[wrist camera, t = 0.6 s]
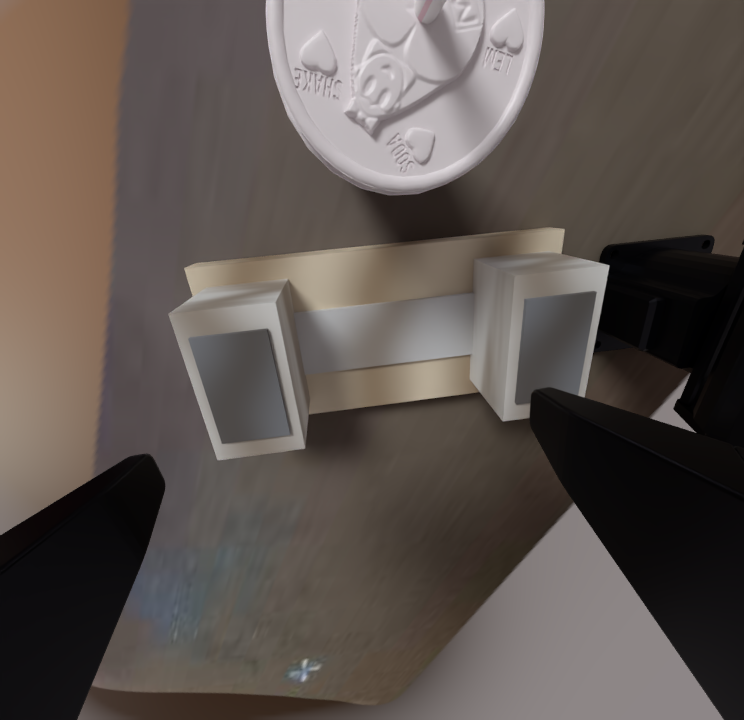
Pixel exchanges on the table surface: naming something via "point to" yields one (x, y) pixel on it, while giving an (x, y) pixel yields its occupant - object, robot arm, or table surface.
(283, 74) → the smoothie
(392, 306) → the board
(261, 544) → the table surface
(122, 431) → the table surface
